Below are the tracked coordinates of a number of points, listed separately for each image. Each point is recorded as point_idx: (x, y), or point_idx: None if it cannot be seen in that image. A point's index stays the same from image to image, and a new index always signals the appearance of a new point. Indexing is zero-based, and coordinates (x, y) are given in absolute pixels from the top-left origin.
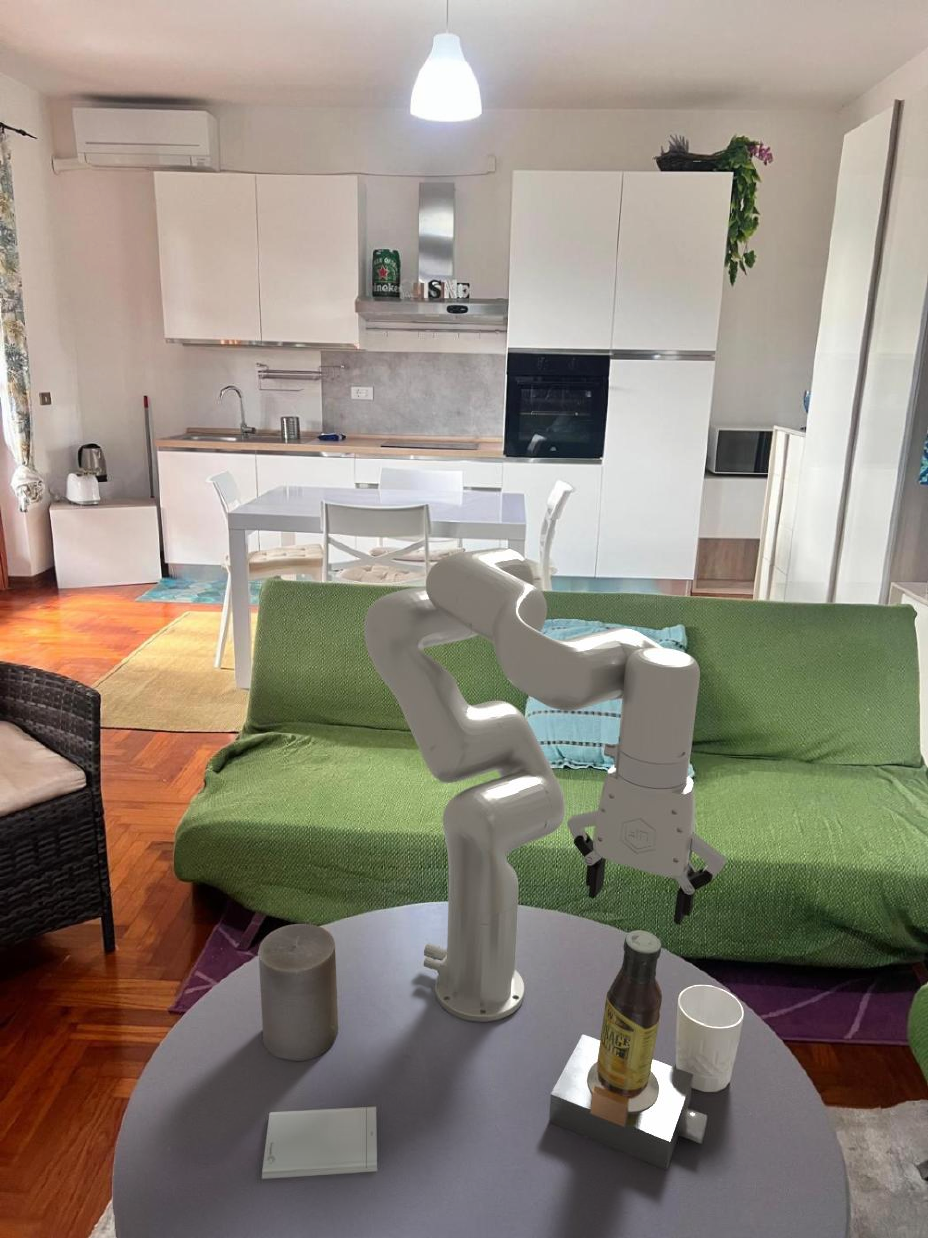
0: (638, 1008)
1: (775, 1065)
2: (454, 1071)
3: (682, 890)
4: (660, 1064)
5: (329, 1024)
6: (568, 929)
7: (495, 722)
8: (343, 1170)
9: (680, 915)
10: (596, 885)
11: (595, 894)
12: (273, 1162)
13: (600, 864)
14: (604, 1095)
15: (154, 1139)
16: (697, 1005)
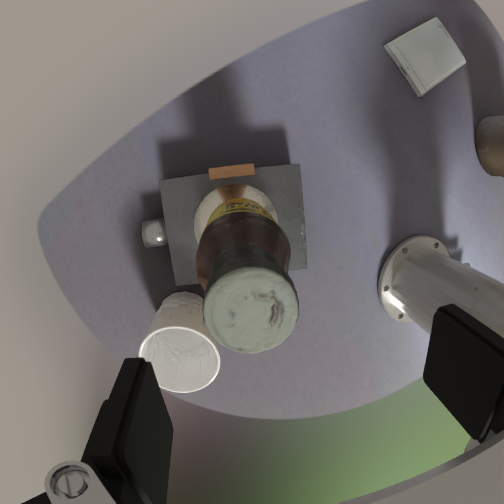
0: (221, 227)
1: None
2: (393, 172)
3: (112, 475)
4: None
5: (491, 142)
6: (369, 397)
7: None
8: (401, 35)
9: (117, 381)
10: (462, 336)
11: (443, 318)
12: (437, 24)
13: (497, 400)
14: (238, 166)
15: (488, 30)
16: (204, 367)
